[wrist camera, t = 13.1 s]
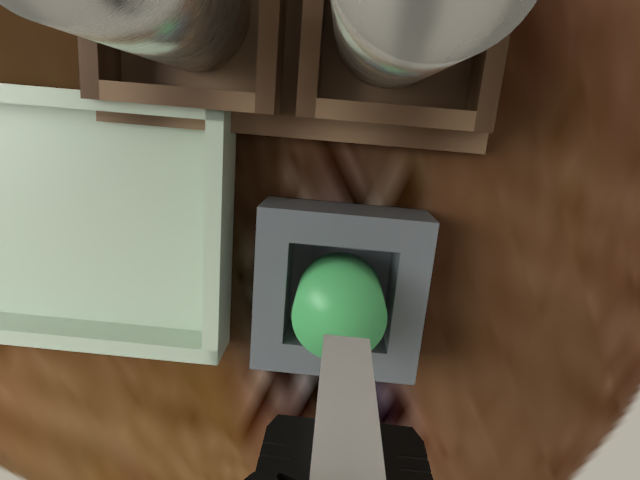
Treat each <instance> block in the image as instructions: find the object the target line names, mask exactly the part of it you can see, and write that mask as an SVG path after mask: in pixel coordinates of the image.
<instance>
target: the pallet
mask: <svg viewBox="0 0 640 480" xmlns="http://www.w3.org/2000/svg"><path fill="white" fill-rule="evenodd" d="M249 3H250V24H249V28H248V32H247V35H246V38H245V40H244V42H243V44H242V46H241V48H240V49H239V51H238V52H237V53H236V54H235V55H234V56H233V58H231V59H230V60H229V61H228V62H227V63H225V64H224V65H222V66H220V67H218V68H216V69H213V70H210V71H205V72H189V71H184V70H181V69H177V68H174V67H171V66H168V65H165V64H162V63H159V62H156V61H153V60H150V59H147V58H144V57H141V56H138V55H135V54H132V53H128V52H125V51H122V50H119V49H116V48H113V47H110V46H107V45H104V44H101V43H98V42H95V41H92V40H89V39H86V38H83V37H80V36H77V39H78V58H79V77H80V96H81V98H82V99H93V100H105V101H117V102H129V103H141V104H152V105H164V106H176V107H188V108H200V109H212V110H223V111H231V133H241V134H253V135H265V136H276V137H288V138H300V139H311V140H323V141H335V142H346V143H358V144H370V145H381V146H393V147H405V148H416V149H428V150H440V151H451V152H463V153H475V154H485V153H486V147H487V141H488V135H489V133H493V132H494V126H495V121H496V115H497V109H498V104H499V98H500V92H501V87H502V81H503V75H504V70H505V64H506V58H507V52H508V47H509V41H510V35H511V33H510V34H508V35H507V36H506V37H504V38H503V39H502V40H501V41H499V42H498V43H497V44H495V45H493V46H492V47H490V48H488V49H487V50H485V51H483V52H481V53H479V54H477V55H474V56H472V57H470V58H468V59H466V60H464V61H461V62H459V63H457V64H455V65H453V66H451V67H448V68H446V69H444V70H442V71H440V72H438V73H435V74H433V75H431V76H429V77H427V78H425V79H422V80H420V81H418V82H416V83H414V84H411V85H409V86H406V87H402V88H396V89H384V88H378V87H374V86H371V85H369V84H366V83H365V82H363V81H361V80H359V79H358V78H357V77H356V76H354V75H353V74H352V73H351V72H350V71H349V70H348V68H347V67H346V65H345V64H344V63H343V61H342V59H341V57H340V55H339V52H338V50H337V46H336V42H335V35H334V27H333V19H332V11H331V2H330V0H249ZM96 121H101V122H113V123H125V124H136V125H148V126H160V127H171V128H183V129H195V130H205V120H202V119H190V118H178V117H166V116H155V115H143V114H131V113H119V112H108V111H96Z"/></svg>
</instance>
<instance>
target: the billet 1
mask: <svg viewBox="0 0 640 480" xmlns="http://www.w3.org/2000/svg"><path fill="white" fill-rule="evenodd" d="M0 5H1V6H3V7H5V8H6V9H8V10H10V11H11V12H13V13H15V14H17V15H19V16H21V17H23V18H26V19H28V20H31V21H34V22H37V23H40V24H43V25H46V26H49V27H52V28H55V29H58V30H61V31H64V32H67V33H70V34H73V35H77V36H80V37H83V38H86V39H89V40H92V41H95V42H98V43H101V44H104V45H107V46H110V47H113V48H116V49H119V50H122V51H125V52H128V53H132V54H135V55H138V56H141V57H144V58H147V59H150V60H153V61H156V62H159V63H162V64H165V65H168V66H171V67H174V68H177V69H181V70H184V71H189V72H205V71H210V70H213V69H216V68H218V67H220V66H222V65H224V64H225V63H227V62H228V61H229V60H230V59H231V58H233V56H234V55H235V54H236V53H237V52H238V51H239V49H240V48H241V46H242V44H243V42H244V40H245V38H246V35H247V32H248V28H249V24H250V3H249V0H0Z"/></svg>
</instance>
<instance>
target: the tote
mask: <svg viewBox="0 0 640 480" xmlns="http://www.w3.org/2000/svg"><path fill="white" fill-rule="evenodd" d="M96 111H108V112H119V113H131V114H143V115H155V116H166V117H178V118H190V119H202V120H205V130H195V129H183V128H171V127H160V126H148V125H136V124H125V123H113V122H101V121H96ZM235 160H236V133H231V111H223V110H212V109H200V108H188V107H176V106H164V105H152V104H141V103H129V102H117V101H105V100H93V99H82V98H81V96H80V90H75V89H63V88H51V87H39V86H27V85H16V84H4V83H0V344H4V345H14V346H24V347H34V348H44V349H55V350H65V351H75V352H85V353H95V354H105V355H115V356H126V357H136V358H146V359H156V360H166V361H176V362H186V363H197V364H207V365H218V363H219V361H220V359H221V358H222V356H223V354H224V352H225V350H226V348H227V346H228V344H229V342H230V312H231V282H232V251H233V221H234V191H235Z"/></svg>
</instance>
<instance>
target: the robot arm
mask: <svg viewBox="0 0 640 480" xmlns="http://www.w3.org/2000/svg"><path fill="white" fill-rule="evenodd" d="M244 480H433V478H432V474H431V470H430V465H429V461H428V460H427V453H426V449H425V445H424V441H423V440H422V439H421V438H420V436H419V435H418V434H417V433H416V431H415V430H414V429H413V428H412V427H406V426H397V425H387V424H380V423H379V414H378V405H377V397H376V388H375V380H374V371H373V363H372V354H371V346H370V339H368V338H358V337H348V336H337V335H327V334H324V336H323V346H322V356H321V366H320V377H319V387H318V397H317V407H316V417H315V418H307V417H298V416H288V415H277V416H276V417H275V418H274V419H273V420H272V422H271V423H270V424H269V425H268V426H267V428H266V432H265V436H264V440H263V444H262V448H261V452H260V457H259V459H258V463H257V467H256V471H255V472H253V473H252V474H250V475H249V476H248V477H247V478H245V479H244Z"/></svg>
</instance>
